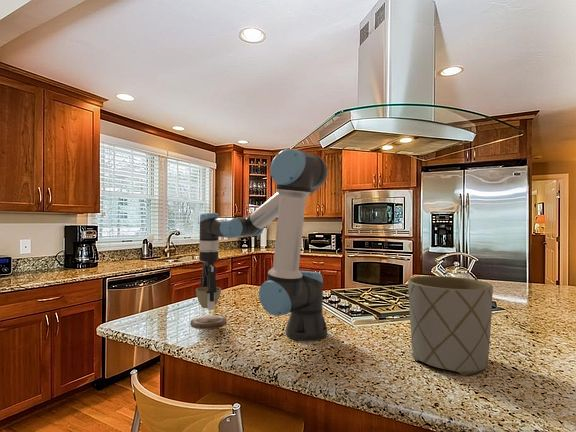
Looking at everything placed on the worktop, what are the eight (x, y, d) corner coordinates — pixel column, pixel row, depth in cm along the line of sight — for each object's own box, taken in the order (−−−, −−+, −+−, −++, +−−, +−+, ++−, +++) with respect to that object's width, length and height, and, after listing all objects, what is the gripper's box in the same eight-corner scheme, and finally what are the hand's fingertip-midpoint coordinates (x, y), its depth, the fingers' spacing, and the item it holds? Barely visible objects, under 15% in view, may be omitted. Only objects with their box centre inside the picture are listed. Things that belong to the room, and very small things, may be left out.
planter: (394, 360, 103) (394, 281, 103) (427, 341, 119) (427, 273, 119) (477, 387, 87) (477, 293, 87) (502, 361, 103) (502, 282, 103)
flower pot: (217, 310, 134) (218, 291, 134) (192, 309, 135) (192, 291, 135) (223, 303, 144) (223, 286, 144) (199, 303, 145) (199, 286, 145)
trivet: (229, 325, 136) (230, 322, 136) (193, 330, 130) (193, 326, 130) (221, 316, 149) (221, 313, 149) (188, 320, 143) (188, 316, 143)
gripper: (224, 253, 131) (224, 312, 131) (212, 248, 151) (211, 299, 151) (204, 254, 128) (204, 314, 128) (194, 248, 148) (194, 300, 148)
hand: (208, 306), depth 140 cm, fingers closed on flower pot, 10 cm apart
